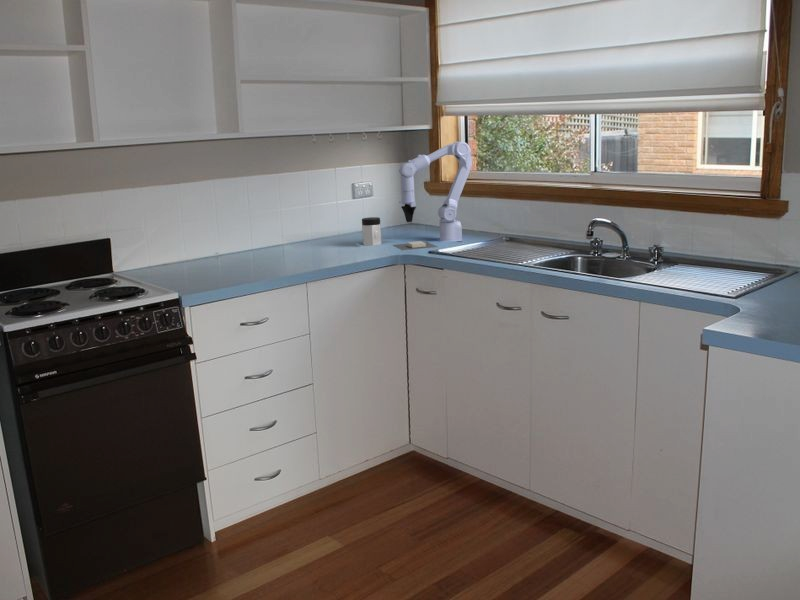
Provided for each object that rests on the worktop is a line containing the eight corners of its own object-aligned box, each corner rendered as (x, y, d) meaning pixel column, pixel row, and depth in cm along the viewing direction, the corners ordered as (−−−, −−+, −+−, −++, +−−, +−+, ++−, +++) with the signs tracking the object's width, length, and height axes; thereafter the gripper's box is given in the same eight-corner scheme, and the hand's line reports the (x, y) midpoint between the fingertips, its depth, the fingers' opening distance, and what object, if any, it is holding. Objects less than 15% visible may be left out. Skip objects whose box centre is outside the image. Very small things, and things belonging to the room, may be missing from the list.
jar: (369, 247, 353) (367, 220, 350) (358, 245, 359) (357, 218, 357) (385, 244, 358) (384, 217, 355) (375, 243, 364) (374, 216, 362)
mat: (426, 243, 357) (426, 241, 357) (438, 248, 342) (438, 246, 342) (392, 246, 353) (392, 244, 353) (402, 251, 338) (402, 250, 338)
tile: (420, 241, 349) (425, 243, 342) (420, 244, 349) (425, 247, 342) (407, 242, 347) (412, 244, 340) (407, 246, 347) (412, 248, 341)
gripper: (394, 190, 357) (395, 220, 360) (404, 192, 343) (405, 224, 346) (409, 189, 359) (410, 219, 362) (419, 191, 345) (421, 223, 348)
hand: (409, 221), depth 354 cm, fingers closed
